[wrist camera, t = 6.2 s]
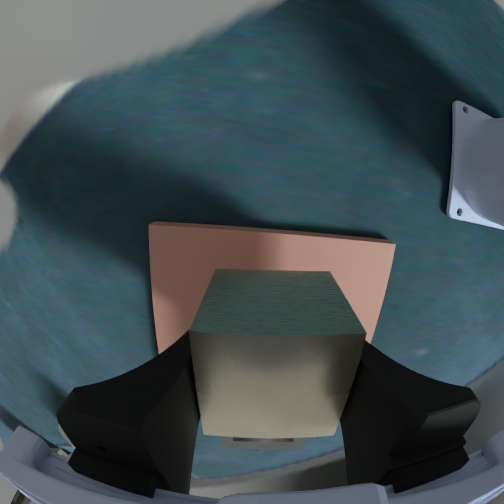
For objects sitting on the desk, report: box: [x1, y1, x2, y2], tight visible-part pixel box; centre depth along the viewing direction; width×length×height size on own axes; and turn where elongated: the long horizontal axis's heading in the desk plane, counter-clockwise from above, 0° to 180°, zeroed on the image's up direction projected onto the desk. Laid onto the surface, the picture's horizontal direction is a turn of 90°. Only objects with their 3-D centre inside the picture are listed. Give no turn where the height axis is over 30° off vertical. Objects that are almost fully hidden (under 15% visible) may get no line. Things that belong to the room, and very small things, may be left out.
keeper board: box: [149, 221, 396, 354], centre depth 15 cm, size 14×14×6 cm
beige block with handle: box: [189, 268, 367, 450], centre depth 11 cm, size 12×5×5 cm, turn 179°
